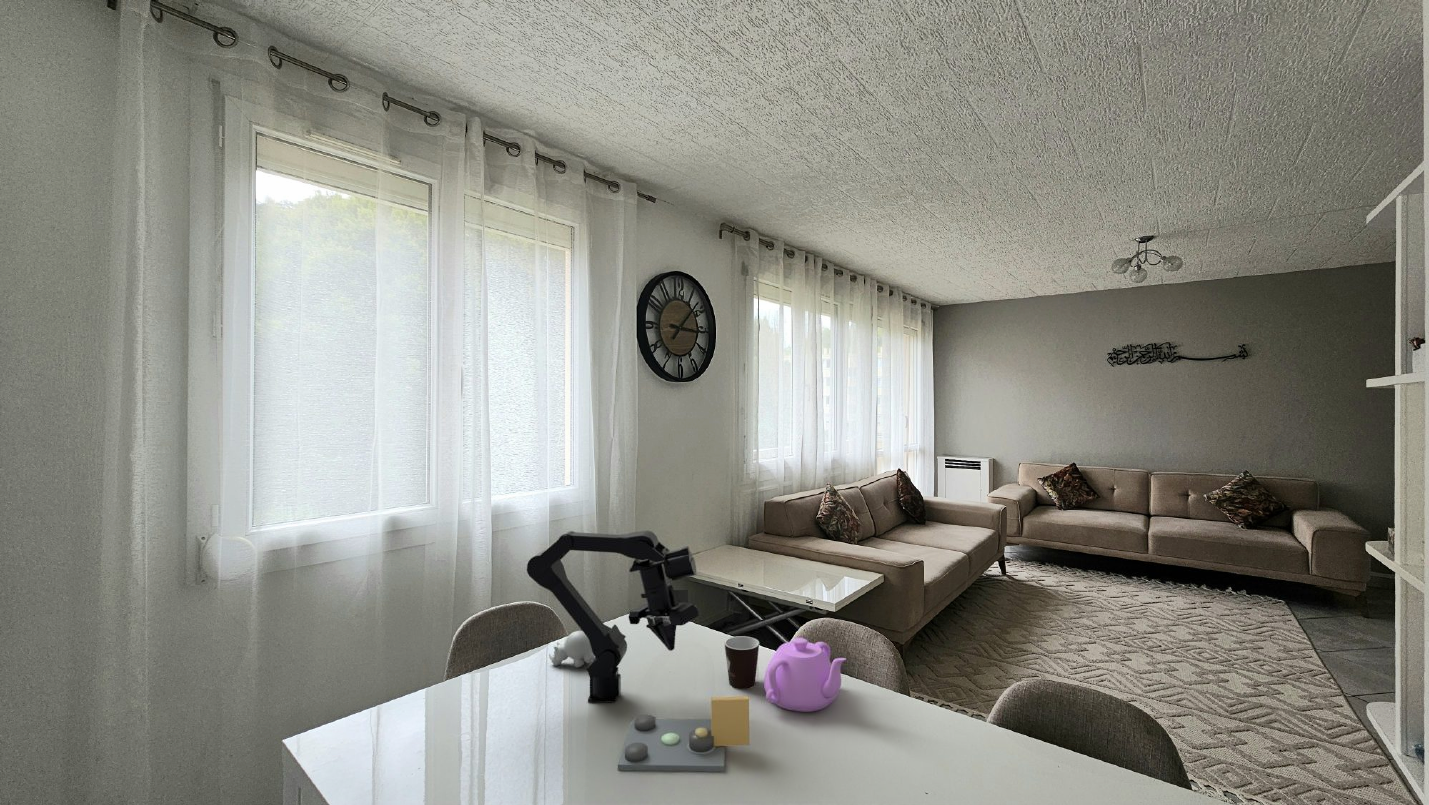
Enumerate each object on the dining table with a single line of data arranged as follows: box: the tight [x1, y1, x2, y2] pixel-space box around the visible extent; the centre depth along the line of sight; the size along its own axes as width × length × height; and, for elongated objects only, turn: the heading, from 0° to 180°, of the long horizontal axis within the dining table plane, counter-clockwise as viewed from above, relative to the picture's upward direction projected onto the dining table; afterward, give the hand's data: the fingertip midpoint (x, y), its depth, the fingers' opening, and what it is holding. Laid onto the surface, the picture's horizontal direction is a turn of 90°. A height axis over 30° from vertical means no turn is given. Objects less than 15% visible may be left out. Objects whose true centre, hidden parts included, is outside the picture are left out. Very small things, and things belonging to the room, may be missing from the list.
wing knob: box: [689, 695, 750, 752], centre depth 119 cm, size 12×5×9 cm, turn 93°
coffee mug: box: [724, 635, 760, 690], centre depth 150 cm, size 12×9×10 cm
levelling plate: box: [617, 713, 726, 772], centre depth 121 cm, size 20×17×2 cm
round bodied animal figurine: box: [548, 630, 595, 669], centre depth 160 cm, size 7×12×8 cm, turn 89°
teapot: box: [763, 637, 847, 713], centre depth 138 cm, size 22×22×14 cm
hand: (671, 649), depth 141 cm, fingers closed
